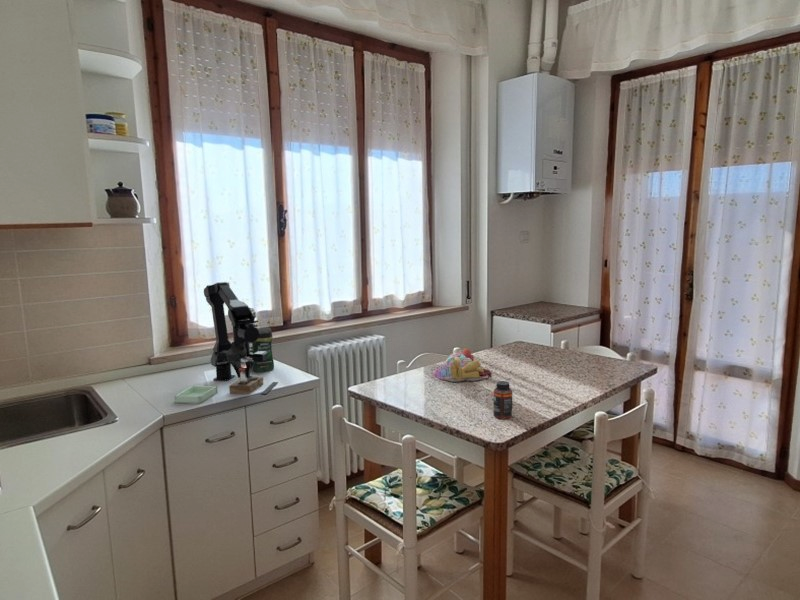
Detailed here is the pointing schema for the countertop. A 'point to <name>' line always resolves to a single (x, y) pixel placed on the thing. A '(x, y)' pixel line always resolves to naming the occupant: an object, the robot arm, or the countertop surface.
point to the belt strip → (269, 388)
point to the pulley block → (252, 385)
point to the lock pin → (243, 375)
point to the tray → (196, 394)
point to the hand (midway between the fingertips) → (243, 377)
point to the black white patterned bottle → (253, 326)
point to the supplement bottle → (502, 400)
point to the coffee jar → (263, 345)
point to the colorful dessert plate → (461, 368)
